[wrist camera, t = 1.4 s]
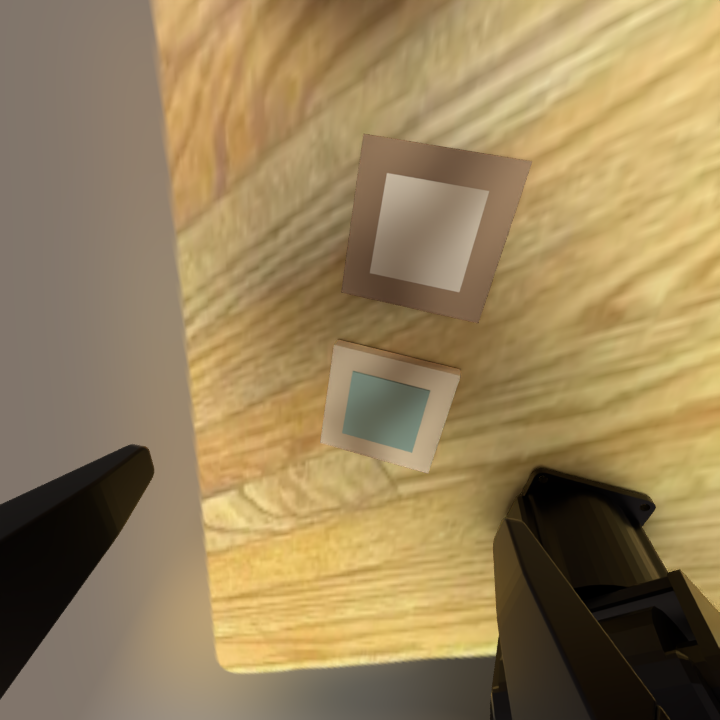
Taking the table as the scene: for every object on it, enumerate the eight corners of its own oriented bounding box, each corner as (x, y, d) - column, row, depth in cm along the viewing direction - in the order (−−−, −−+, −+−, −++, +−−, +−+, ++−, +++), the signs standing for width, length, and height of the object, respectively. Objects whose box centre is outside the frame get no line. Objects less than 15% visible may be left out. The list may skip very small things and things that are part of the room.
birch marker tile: (460, 369, 20) (460, 376, 19) (428, 464, 23) (427, 474, 22) (337, 339, 20) (333, 345, 20) (324, 435, 24) (319, 443, 23)
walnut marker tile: (528, 162, 15) (532, 161, 14) (477, 318, 18) (478, 323, 17) (367, 136, 16) (363, 133, 15) (345, 288, 19) (340, 292, 18)
